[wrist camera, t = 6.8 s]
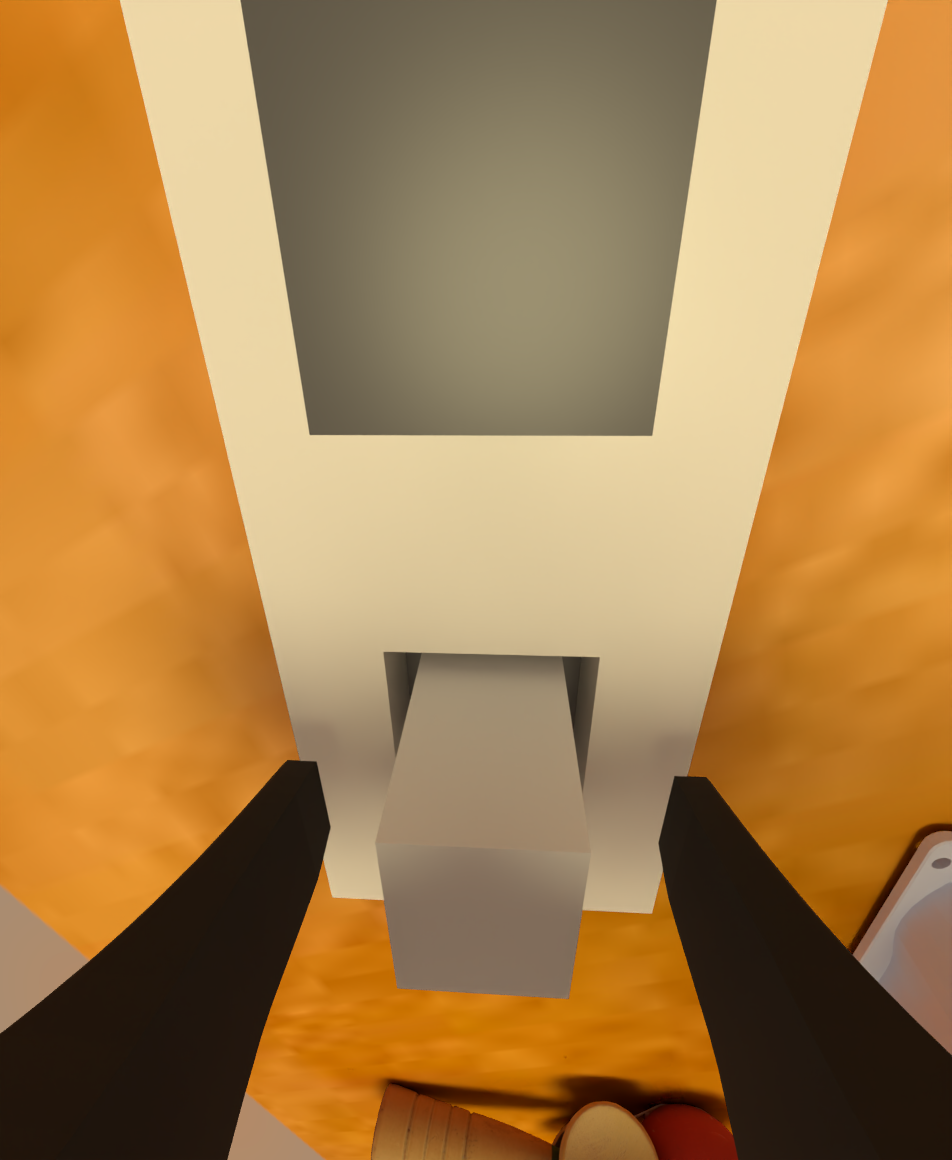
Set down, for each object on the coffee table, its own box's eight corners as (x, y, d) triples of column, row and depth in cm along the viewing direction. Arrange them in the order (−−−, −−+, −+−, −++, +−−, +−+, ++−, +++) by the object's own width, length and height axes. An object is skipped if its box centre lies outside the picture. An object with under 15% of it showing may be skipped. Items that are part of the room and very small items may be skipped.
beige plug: (546, 741, 14) (568, 998, 9) (437, 737, 14) (397, 988, 9) (556, 618, 12) (591, 853, 7) (430, 615, 13) (375, 843, 7)
